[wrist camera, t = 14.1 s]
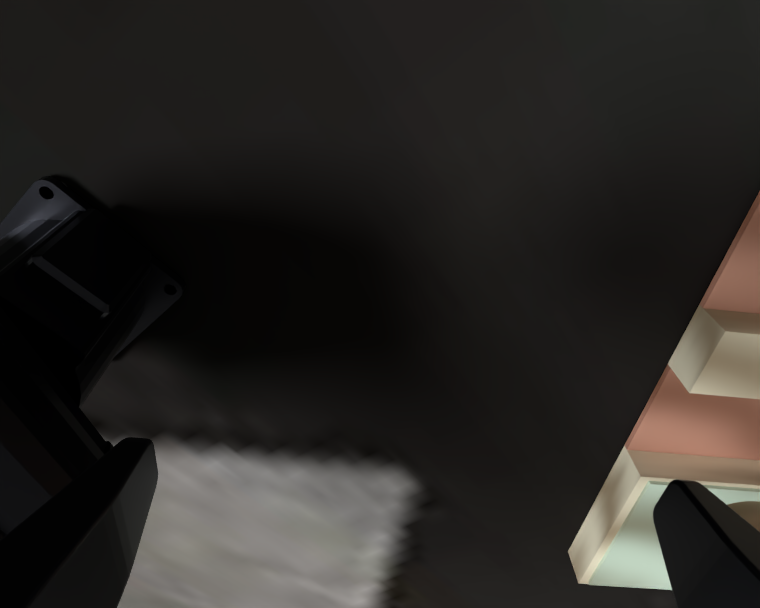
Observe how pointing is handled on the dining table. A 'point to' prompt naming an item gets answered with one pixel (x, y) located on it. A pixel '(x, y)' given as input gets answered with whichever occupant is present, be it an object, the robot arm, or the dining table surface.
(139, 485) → the robot arm
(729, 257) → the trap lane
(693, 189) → the dining table surface
